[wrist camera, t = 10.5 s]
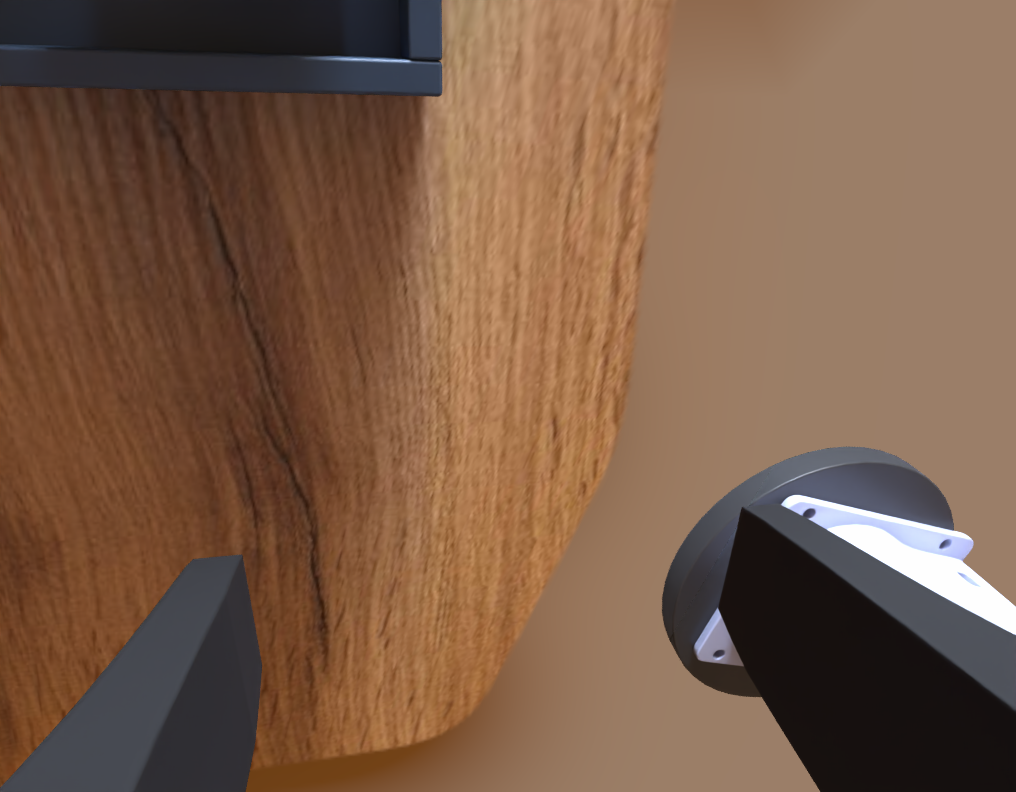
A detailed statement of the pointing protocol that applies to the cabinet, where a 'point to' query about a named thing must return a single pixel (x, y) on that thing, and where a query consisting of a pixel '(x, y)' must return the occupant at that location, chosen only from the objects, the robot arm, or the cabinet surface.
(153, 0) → the dish
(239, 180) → the cabinet surface
